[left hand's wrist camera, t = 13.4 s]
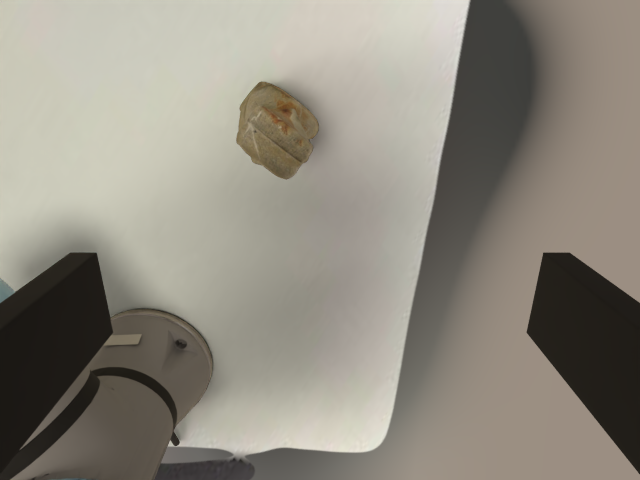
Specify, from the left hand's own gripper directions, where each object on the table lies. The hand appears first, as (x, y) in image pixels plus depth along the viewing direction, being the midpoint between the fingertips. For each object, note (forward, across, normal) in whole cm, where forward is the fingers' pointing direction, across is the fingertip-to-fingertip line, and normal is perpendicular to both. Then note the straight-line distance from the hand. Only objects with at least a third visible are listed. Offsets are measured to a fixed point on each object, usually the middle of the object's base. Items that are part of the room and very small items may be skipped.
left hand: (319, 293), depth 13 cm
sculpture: (+33, +4, -2) cm, 34 cm away
